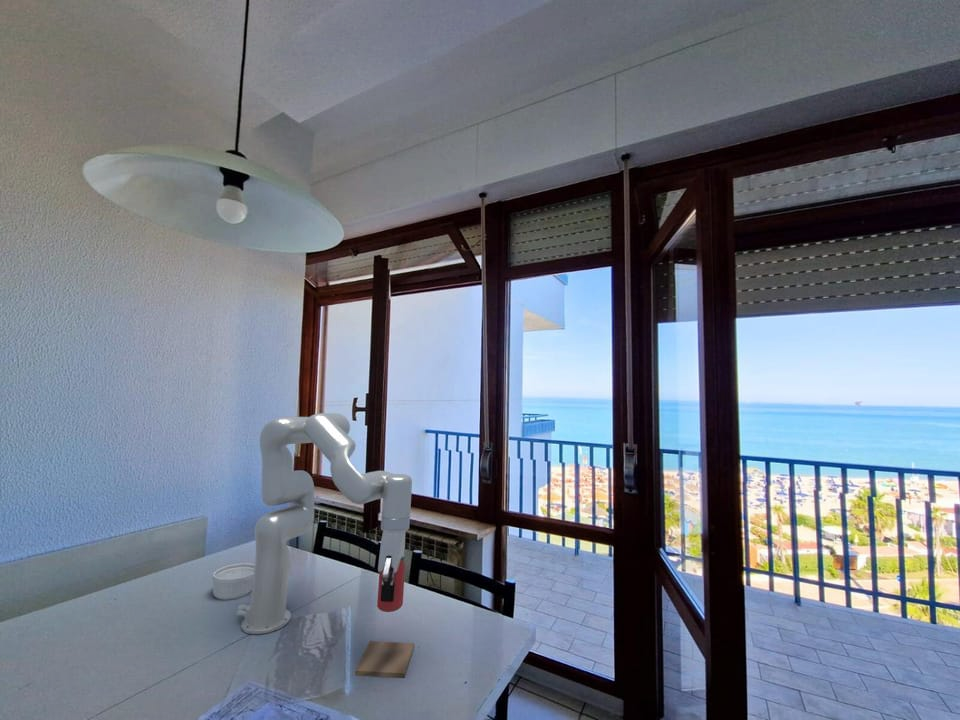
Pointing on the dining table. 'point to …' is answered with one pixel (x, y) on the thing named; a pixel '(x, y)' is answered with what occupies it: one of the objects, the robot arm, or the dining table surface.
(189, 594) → the dining table surface
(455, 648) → the dining table surface
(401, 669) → the coaster board
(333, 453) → the robot arm
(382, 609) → the beer can
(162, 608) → the dining table surface
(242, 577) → the ramekin
